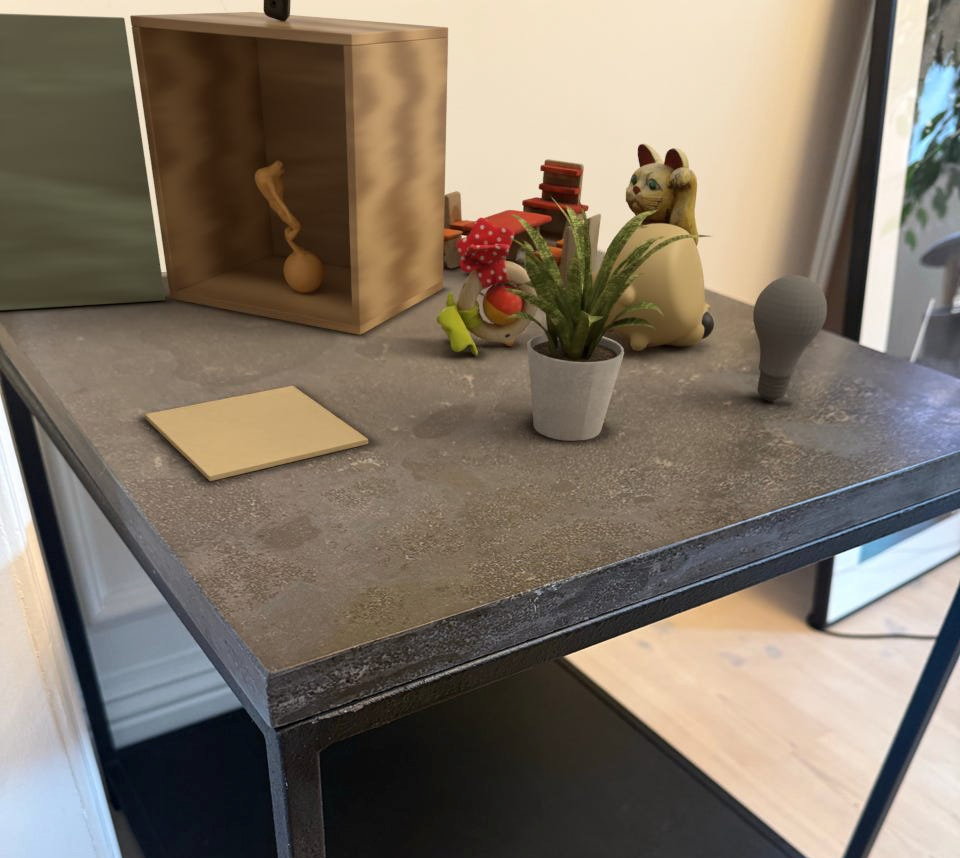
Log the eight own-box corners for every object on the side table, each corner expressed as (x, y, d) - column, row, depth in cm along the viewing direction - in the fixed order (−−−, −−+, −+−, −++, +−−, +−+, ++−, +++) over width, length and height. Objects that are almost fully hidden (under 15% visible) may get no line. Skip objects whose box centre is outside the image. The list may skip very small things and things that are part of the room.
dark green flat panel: (-75, 294, 91) (-159, 4, 78) (157, 281, 98) (117, 13, 85) (-80, 315, 86) (-171, 8, 73) (165, 300, 93) (124, 18, 80)
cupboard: (360, 335, 88) (351, 34, 74) (169, 298, 94) (129, 15, 80) (442, 288, 101) (448, 27, 88) (271, 259, 108) (252, 11, 94)
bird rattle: (494, 355, 91) (411, 322, 87) (547, 243, 86) (461, 201, 82) (516, 379, 86) (429, 345, 82) (573, 261, 81) (484, 218, 77)
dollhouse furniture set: (410, 265, 108) (410, 171, 103) (489, 235, 122) (493, 151, 116) (559, 295, 101) (568, 195, 96) (626, 260, 115) (638, 171, 109)
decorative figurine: (595, 295, 102) (612, 139, 93) (648, 285, 106) (670, 135, 97) (660, 319, 96) (685, 155, 87) (714, 308, 100) (743, 150, 91)
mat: (145, 419, 70) (144, 413, 70) (293, 390, 76) (292, 385, 76) (209, 481, 62) (209, 476, 62) (368, 444, 68) (368, 438, 68)
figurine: (333, 303, 93) (326, 168, 86) (271, 306, 91) (259, 169, 84) (317, 279, 99) (310, 152, 92) (259, 282, 97) (247, 153, 90)
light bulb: (815, 412, 77) (849, 285, 71) (753, 414, 76) (782, 286, 70) (784, 387, 82) (813, 266, 76) (724, 389, 80) (749, 267, 75)
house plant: (678, 403, 77) (716, 186, 68) (676, 475, 66) (721, 226, 57) (506, 384, 79) (520, 169, 70) (476, 451, 68) (487, 206, 58)
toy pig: (671, 396, 88) (756, 313, 87) (611, 308, 80) (705, 214, 79) (616, 358, 95) (694, 281, 94) (556, 273, 87) (641, 186, 86)
